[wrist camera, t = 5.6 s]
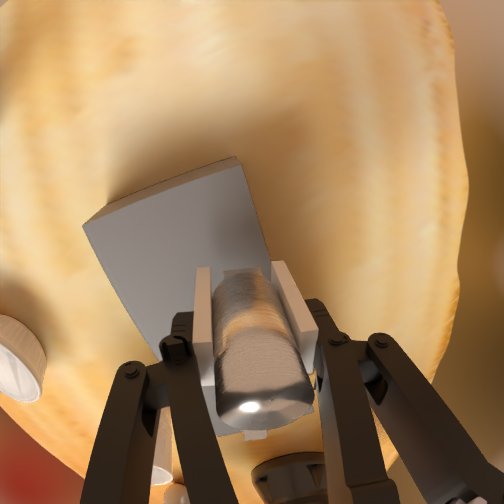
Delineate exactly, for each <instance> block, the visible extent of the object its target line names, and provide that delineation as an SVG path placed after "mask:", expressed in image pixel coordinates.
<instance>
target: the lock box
mask: <svg viewBox="0 0 504 504" xmlns="http://www.w3.org/2000/svg"><path fill="white" fill-rule="evenodd" d="M82 227H83V229H84V231H85V234H86V236H87V238H88V240H89V242H90V244H91V246H92V248H93V250H94V252H95V254H96V256H97V258H98V260H99V262H100V264H101V266H102V268H103V270H104V272H105V273H106V275H107V277H108V279H109V281H110V283H111V285H112V286H113V288H114V290H115V292H116V293H117V295H118V297H119V299H120V300H121V302H122V304H123V306H124V307H125V309H126V311H127V312H128V314H129V316H130V317H131V319H132V320H133V322H134V324H135V325H136V327H137V328H138V330H139V332H140V333H141V335H142V336H143V338H144V339H145V341H146V342H147V344H148V345H149V347H150V348H151V350H152V351H153V353H154V354H155V356H156V357H157V359H158V360H159V362H160V361H162V360H163V359H162V356H161V353H160V349H159V343H160V341H161V340H162V339H163V338H164V337H166V336H168V335H170V332H171V327H172V319H173V317H174V316H175V315H176V314H177V312H190V311H194V303H195V288H196V274H197V267H210V273H211V282H212V291H213V293H214V291H215V289H216V287H217V286H218V285H219V284H220V283H221V282H222V281H223V280H224V273H223V271H226V270H236V269H246V268H256V267H260V270H261V273H262V276H264V277H265V278H267V279H268V280H269V281H271V260H270V257H269V253H268V250H267V247H266V243H265V240H264V237H263V233H262V230H261V227H260V224H259V220H258V217H257V214H256V210H255V207H254V204H253V201H252V197H251V194H250V191H249V188H248V185H247V181H246V178H245V175H244V172H243V169H242V165H241V163H240V162H239V161H238V159H237V158H236V157H231V158H228V159H225V160H222V161H219V162H216V163H213V164H210V165H207V166H204V167H201V168H198V169H196V170H193V171H190V172H187V173H184V174H182V175H179V176H176V177H174V178H171V179H168V180H166V181H163V182H160V183H158V184H155V185H153V186H150V187H148V188H145V189H143V190H140V191H138V192H135V193H133V194H131V195H128V196H126V197H124V198H121V199H119V200H117V201H114V202H112V203H110V204H107V205H105V206H104V207H103V208H102V209H101V210H99V211H98V212H97V213H96V214H95V215H94V216H92V217H91V218H90V219H89V220H88V221H87V222H86V223H84V224H83V225H82ZM201 386H202V384H201ZM202 390H203V394H204V398H205V401H206V405H207V408H208V412H209V415H210V419H211V422H212V425H213V429H214V432H215V434H216V435H217V436H218V437H220V436H225V435H230V434H235V433H239V432H241V431H240V430H238V428H234V427H232V426H229V425H228V424H226V423H224V422H223V421H222V420H221V419H220V418H219V416H218V415H217V412H216V400H215V385H213V386H202ZM312 412H314V410H313V406H312V405H311V407H310V408H309V410H308V411H307V412H306V413H305V414H303V415H306V414H309V413H312ZM303 415H302V416H303Z"/></svg>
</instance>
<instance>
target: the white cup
mask: <svg viewBox="0 0 504 504" xmlns="http://www.w3.org/2000/svg"><path fill="white" fill-rule="evenodd" d="M172 480H173V454H172V429H171V413H170V407H165V408H162V409H161V414H160V420H159V426H158V433H157V440H156V447H155V454H154V462H153V469H152V478H151V485H162V484H167V483H169V482H171V481H172Z"/></svg>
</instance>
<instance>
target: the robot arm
mask: <svg viewBox="0 0 504 504" xmlns="http://www.w3.org/2000/svg"><path fill="white" fill-rule="evenodd" d="M271 282H272V284H273V285H274V287H275V288H276V291H277V293H278V296H279V299H280V301H281V304H282V307H283V309H284V312H285V315H286V317H287V320H288V322H289V325H290V328H291V330H292V333H293V336H294V339H295V341H296V344H297V347H298V349H299V352H300V355H301V357H302V360H303V363H304V365H305V368H306V371H307V373H308V374H310V373H312V372H313V365H314V368H315V370H316V378H315V383H314V390H316V388H317V396H318V404H319V412H320V420H321V428H322V437H323V446H324V454H323V453H317V452H307V453H298V454H292V455H287V456H283V457H279V458H276V459H273V460H270V461H268V462H265V463H263V464H261V465H259V466H258V467H256V468H255V469H254V470H253V471H252V473H251V477H252V483H253V485H254V487H255V489H256V491H257V492H258V494H259V496H260V497H261V499H262V500H263V502H264V504H400V500H399V495H398V490H397V486H396V484H395V482H394V481H393V480H392V479H389V478H388V476H387V474H386V469H385V465H384V460H383V456H382V451H381V447H380V443H379V439H378V435H377V430H376V426H375V423H374V419H373V415H372V411H371V407H372V409H373V411H374V412H375V414H376V416H377V417H378V419H379V421H380V422H381V424H382V426H383V428H384V429H385V431H386V433H387V434H388V436H389V438H390V440H391V441H392V443H393V445H394V446H395V448H396V450H397V452H398V453H399V455H400V457H401V459H402V460H403V462H404V464H405V466H406V467H407V469H408V471H409V473H410V474H411V476H412V478H413V480H414V481H415V483H416V485H417V487H418V489H419V491H420V492H421V494H422V496H423V498H424V499H425V501H426V502H427V504H504V473H503V472H501V471H500V470H498V469H497V468H495V467H494V466H493V465H491V464H490V463H488V462H487V460H486V459H485V457H484V456H483V454H482V453H481V451H480V450H479V449H478V447H477V446H476V444H475V443H474V441H473V440H472V439H471V437H470V436H469V435H468V433H467V432H466V430H465V429H464V428H463V427H462V425H461V424H460V423H459V421H458V420H457V418H456V417H455V416H454V414H453V413H452V411H451V410H450V409H449V408H448V406H447V405H446V404H445V403H444V401H443V400H442V398H441V397H440V396H439V394H438V393H437V392H436V391H435V389H434V388H433V387H432V385H431V384H430V383H429V382H428V380H427V379H426V378H425V377H424V375H423V374H422V373H421V372H420V370H419V369H418V368H417V367H416V365H415V364H414V363H413V362H412V360H411V359H410V358H409V357H408V356H407V354H406V353H405V352H404V351H403V349H402V348H401V347H400V346H399V345H398V343H397V342H396V341H395V340H394V339H393V338H392V337H391V336H390V335H388V334H385V333H374V334H372V335H371V336H370V337H369V338H368V341H355V340H351V339H350V337H349V336H348V335H347V334H345V333H343V332H340V331H339V330H338V328H337V326H336V325H335V323H334V321H333V319H332V318H331V316H330V315H329V313H328V311H327V309H326V307H325V306H324V304H323V303H322V302H321V301H319V300H318V299H316V298H315V299H307V300H304V299H303V297H302V295H301V293H300V291H299V289H298V287H297V285H296V283H295V281H294V279H293V277H292V276H291V274H290V272H289V270H288V268H287V266H286V264H285V262H284V260H281V261H271ZM212 296H213V291H212V282H211V273H210V267H197V274H196V288H195V303H194V311H190V312H177V314H176V315H175V316H174V317H173V319H172V327H171V332H170V335H168V336H166V337H164V338H163V339H162V340H161V341H160V343H159V349H160V353H161V356H162V359H163V360H162V361H160V362H159V363H156V364H153V365H150V366H146V367H145V365H144V364H143V363H141V362H138V361H129V362H126V363H124V364H122V365H121V366H120V367H119V369H118V370H117V373H116V375H115V378H114V381H113V384H112V387H111V390H110V393H109V396H108V399H107V402H106V406H105V409H104V412H103V415H102V418H101V422H100V425H99V428H98V432H97V435H96V439H95V442H94V446H93V450H92V453H91V457H90V461H89V465H88V469H87V473H86V477H85V482H84V486H83V490H82V495H81V500H80V504H149V496H150V486H151V478H152V469H153V462H154V454H155V447H156V440H157V433H158V426H159V420H160V414H161V409H162V408H165V407H170V413H171V419H172V424H173V430H174V435H175V440H176V445H177V450H178V455H179V460H180V464H181V469H182V473H183V477H184V481H185V485H186V489H187V493H188V497H189V501H190V504H239V503H238V500H237V497H236V495H235V492H234V489H233V486H232V484H231V481H230V478H229V475H228V472H227V469H226V466H225V463H224V460H223V457H222V454H221V451H220V448H219V445H218V442H217V439H216V435H215V432H214V429H213V425H212V422H211V419H210V415H209V412H208V408H207V405H206V401H205V398H204V394H203V390H202V386H213V385H215V381H214V347H213V320H212ZM201 384H202V386H201ZM370 405H371V407H370Z"/></svg>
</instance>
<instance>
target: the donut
mask: <svg viewBox="0 0 504 504" xmlns="http://www.w3.org/2000/svg"><path fill="white" fill-rule="evenodd" d="M164 504H190V501H189V497H188V493H187V489H186V487H185V486H184V485H181V484H178V483H176V484H171V485H170V486H169V487H168V488H167V489H166V491H165V493H164Z"/></svg>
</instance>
